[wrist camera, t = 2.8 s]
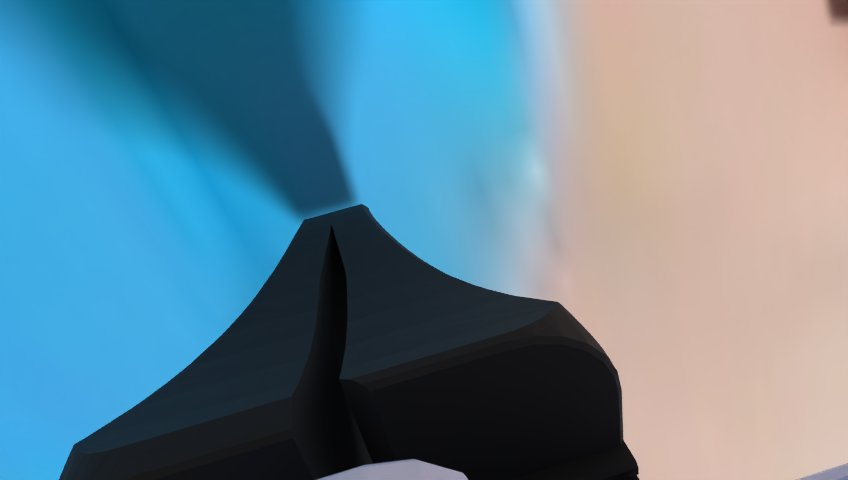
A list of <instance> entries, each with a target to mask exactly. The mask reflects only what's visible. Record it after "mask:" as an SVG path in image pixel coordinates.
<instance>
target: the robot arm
mask: <svg viewBox="0 0 848 480" xmlns="http://www.w3.org/2000/svg"><path fill="white" fill-rule="evenodd" d="M637 475H638V465H637V463H636V460H635V458H634V457H633V455H632V453H631V452H630V450H629V449H628V447H627V445H626V444H625V442H624V440H623V419H622V391H621V385H620V381H619V377H618V372H617V370H616V369H615V367H614V366H613V364H612V362H611V361H610V359H609V357H608V356H607V354H606V353H605V351H604V350H603V349H602V347H601V346H600V345H599V344H598V342H597V341H596V340H595V339H594V338H593V336H592V335H591V334H590V333H589V332H588V331H587V330H586V329H585V328H584V327H583V326H582V325H581V324H580V323H579V322H578V321H577V320H576V319H575V318H574V317H573V316H572V315H571V314H570V313H569V312H568V311H567V310H566V309H565V308H564V307H563V306H562V305H561V304H560V303H558V302H554V301H547V300H540V299H533V298H526V297H519V296H513V295H508V294H504V293H500V292H496V291H492V290H488V289H485V288H482V287H478V286H475V285H472V284H470V283H467V282H465V281H462V280H459V279H457V278H454V277H452V276H450V275H447V274H445V273H443V272H442V271H440V270H438V269H436V268H434V267H433V266H431V265H429V264H428V263H426V262H424V261H423V260H421V259H420V258H418V257H417V256H416V255H414V254H413V253H412V252H410V251H409V250H407V249H406V248H405V247H404V246H402V245H401V244H400V243H399V242H398V241H397V240H395V239H394V238H393V237H392V236H391V235H390V234H389V233H388V232H387V231H386V230H385V229H384V228H383V227H382V226H381V225H380V224H379V223H378V222H377V221H376V220H375V218H374V217H373V216H372V214H371V213H370V211H369V208H368V207H366V206H364V205H362V204H360V205H357V206H353V207H349V208H346V209H342V210H339V211H335V212H331V213H328V214H324V215H321V216H317V217H314V218H310V219H306V220H304V221H303V223H302V224H301V226H300V228H299V229H298V231H297V233H296V234H295V236H294V238H293V240H292V241H291V243H290V245H289V247H288V248H287V250H286V252H285V254H284V255H283V257H282V259H281V260H280V262H279V263H278V265H277V267H276V268H275V270H274V271H273V273H272V274H271V276H270V277H269V278H268V280H267V281H266V283H265V284H264V285H263V287H262V288H261V290H260V291H259V293H258V294H257V295H256V297H255V298H254V299H253V301H252V302H251V303H250V304H249V306H248V307H247V308H246V309H245V310H244V311H243V313H242V314H241V315H240V316H239V317H238V318H237V319H236V320H235V322H234V323H233V324H232V325H231V326H230V327H229V328H228V329H227V330H226V331H225V332H224V333H223V334H222V335H221V336H220V337H219V338H218V339H217V340H216V341H215V342H214V343H213V344H212V345H211V346H209V347H208V348H207V349H206V350H205V351H204V352H203V353H202V354H201V355H200V356H199V357H197V358H196V359H195V360H194V361H193V362H192V363H191V364H190V365H189V366H187V367H186V368H185V369H184V370H183V371H181V372H180V373H179V374H178V375H176V376H175V377H174V378H173V379H171V380H170V381H169V382H168V383H166V384H165V385H164V386H162V387H161V388H160V389H158V390H157V391H155V392H154V393H153V394H151V395H150V396H149V397H147V398H146V399H145V400H143V401H142V402H140V403H139V404H137V405H136V406H135V407H133V408H132V409H130V410H129V411H127V412H125V413H124V414H122V415H121V416H119V417H118V418H116V419H114V420H113V421H111V422H110V423H108V424H107V425H105V426H104V427H102V428H100V429H99V430H97V431H96V432H94V433H93V434H91V435H89V436H88V437H86V438H85V439H83V440H81V441H79V442H78V443H76V444H74V446H73V448H72V450H71V452H70V455H69V457H68V459H67V462H66V464H65V466H64V469H63V471H62V474H61V476H60V478H59V480H639V478H638V477H637ZM797 480H848V463H847V464H844V465H841V466H838V467H835V468H831V469H828V470H825V471H822V472H819V473H816V474H813V475H810V476H806V477H803V478H800V479H797Z"/></svg>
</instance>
